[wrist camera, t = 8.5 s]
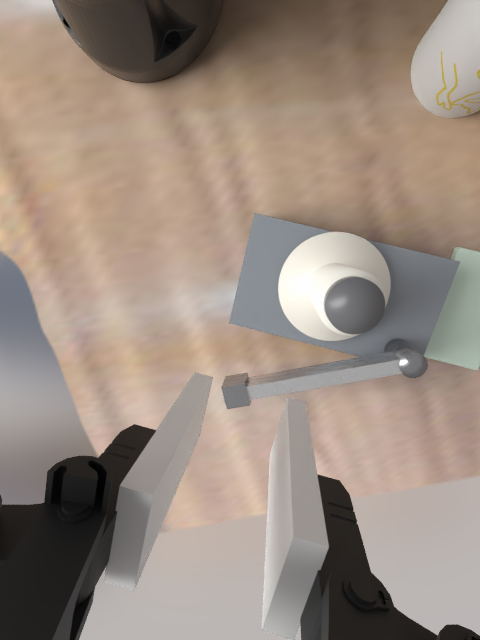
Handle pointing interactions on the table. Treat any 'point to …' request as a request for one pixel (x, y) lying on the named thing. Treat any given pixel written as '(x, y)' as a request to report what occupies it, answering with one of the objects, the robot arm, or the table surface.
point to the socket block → (401, 310)
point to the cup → (450, 62)
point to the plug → (334, 286)
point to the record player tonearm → (325, 374)
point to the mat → (459, 316)
